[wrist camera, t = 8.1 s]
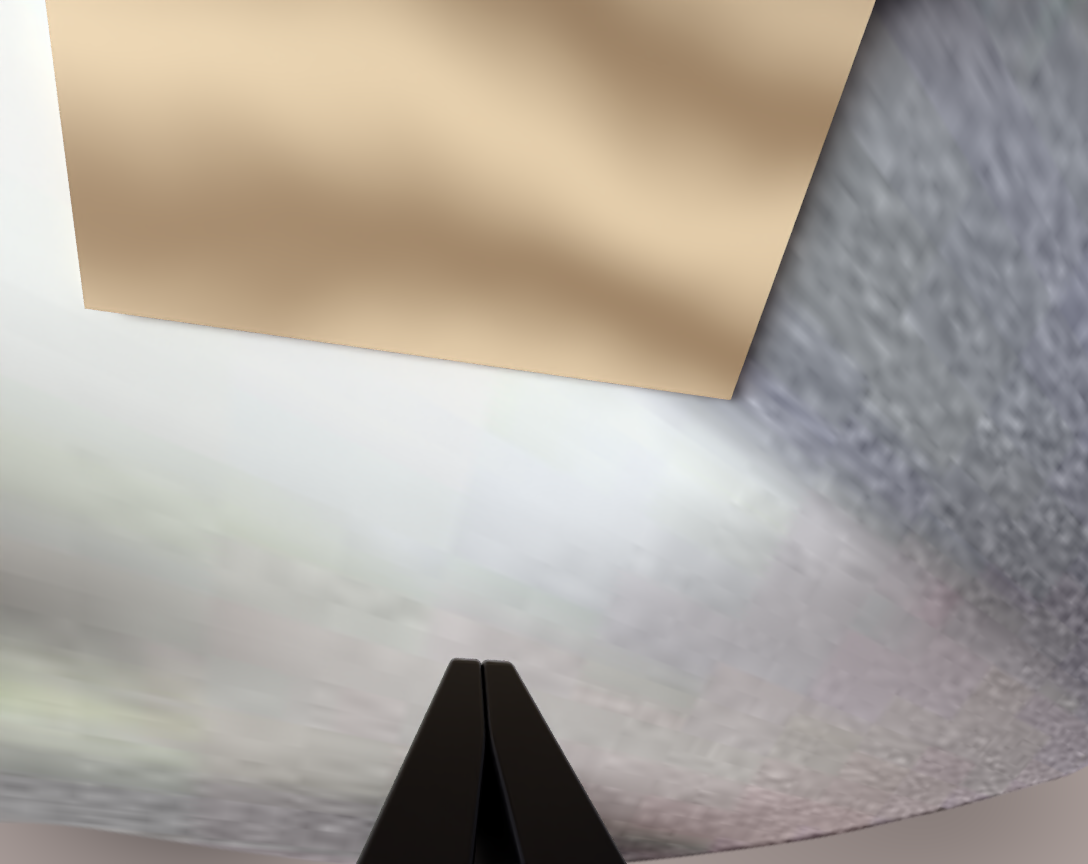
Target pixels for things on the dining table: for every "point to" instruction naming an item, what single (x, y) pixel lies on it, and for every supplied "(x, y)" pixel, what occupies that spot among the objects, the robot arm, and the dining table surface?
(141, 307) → the base
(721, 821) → the dining table surface
